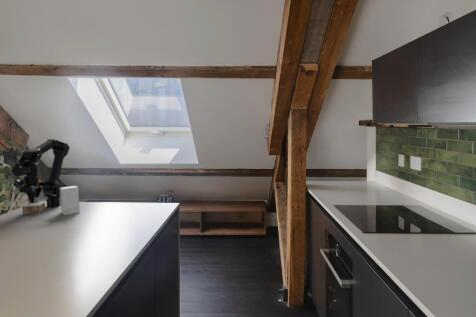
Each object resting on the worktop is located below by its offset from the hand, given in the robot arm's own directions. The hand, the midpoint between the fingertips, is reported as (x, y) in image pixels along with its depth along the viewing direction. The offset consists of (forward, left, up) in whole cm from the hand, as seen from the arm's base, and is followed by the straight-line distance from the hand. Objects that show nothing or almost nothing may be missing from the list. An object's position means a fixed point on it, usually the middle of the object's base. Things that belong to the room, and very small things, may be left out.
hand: (33, 201), depth 175 cm
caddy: (0, 0, -6) cm, 6 cm away
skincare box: (-19, +3, -7) cm, 20 cm away
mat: (-3, +6, -7) cm, 9 cm away
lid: (0, 0, -1) cm, 1 cm away
